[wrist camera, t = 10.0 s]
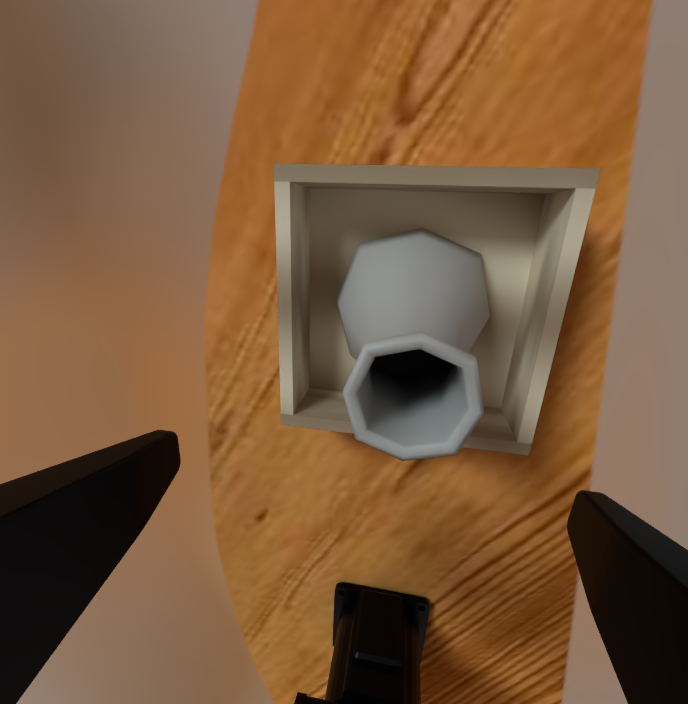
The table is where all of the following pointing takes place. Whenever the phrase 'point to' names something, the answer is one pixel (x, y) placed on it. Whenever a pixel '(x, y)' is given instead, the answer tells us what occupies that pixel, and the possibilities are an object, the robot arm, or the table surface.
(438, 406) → the flask
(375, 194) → the crate
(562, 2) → the table surface
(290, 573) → the table surface
